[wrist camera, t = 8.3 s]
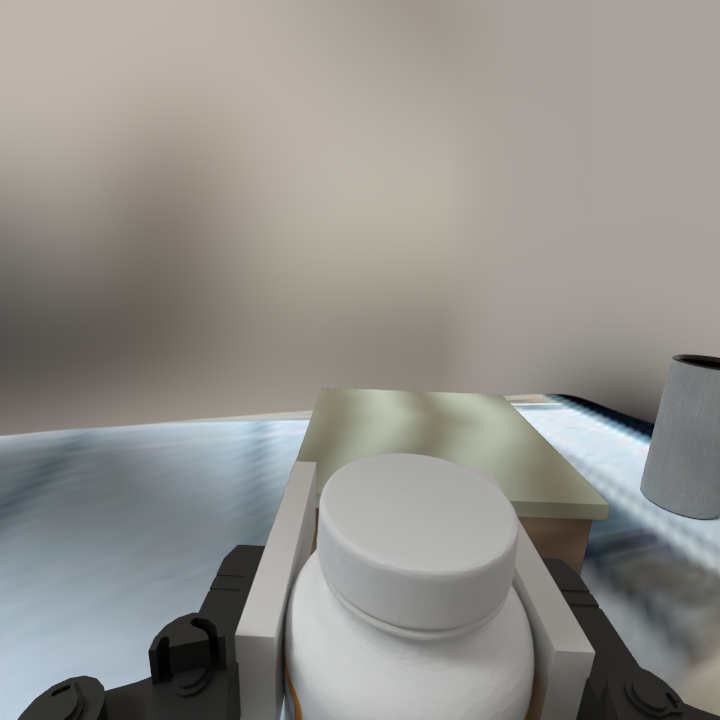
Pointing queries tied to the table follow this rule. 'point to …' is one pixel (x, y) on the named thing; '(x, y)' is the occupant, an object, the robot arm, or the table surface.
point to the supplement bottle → (409, 599)
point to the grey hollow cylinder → (687, 440)
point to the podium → (460, 455)
